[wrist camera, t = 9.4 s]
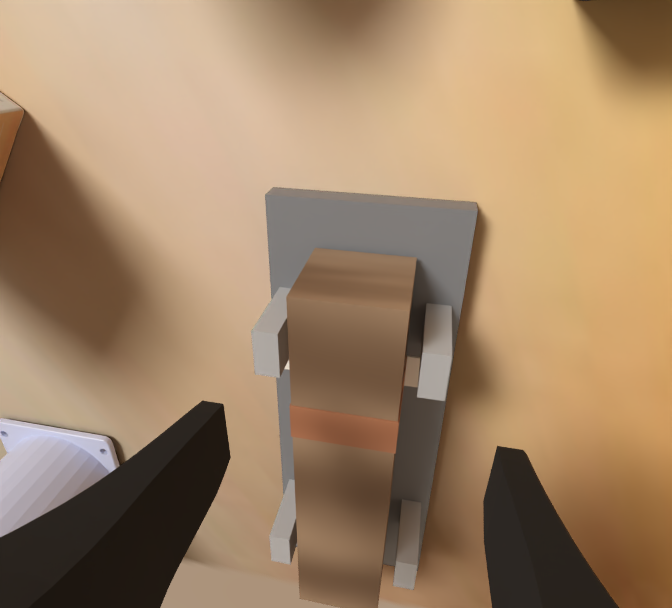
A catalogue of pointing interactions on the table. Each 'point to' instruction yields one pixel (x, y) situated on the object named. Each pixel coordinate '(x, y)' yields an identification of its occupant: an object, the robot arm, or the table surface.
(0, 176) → the small box
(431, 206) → the base plate
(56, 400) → the table surface
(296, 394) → the banded tan post
